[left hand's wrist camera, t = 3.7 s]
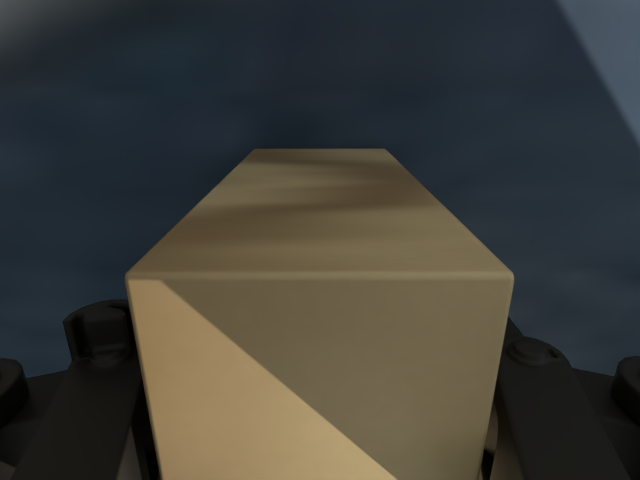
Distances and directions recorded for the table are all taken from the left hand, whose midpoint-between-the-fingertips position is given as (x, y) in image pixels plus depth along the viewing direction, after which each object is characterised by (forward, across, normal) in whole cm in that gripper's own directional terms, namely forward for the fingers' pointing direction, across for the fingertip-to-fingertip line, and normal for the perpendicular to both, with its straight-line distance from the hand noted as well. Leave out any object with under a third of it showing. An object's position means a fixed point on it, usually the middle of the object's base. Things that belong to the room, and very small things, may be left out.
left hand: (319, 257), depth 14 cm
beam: (+1, 0, +10) cm, 10 cm away
